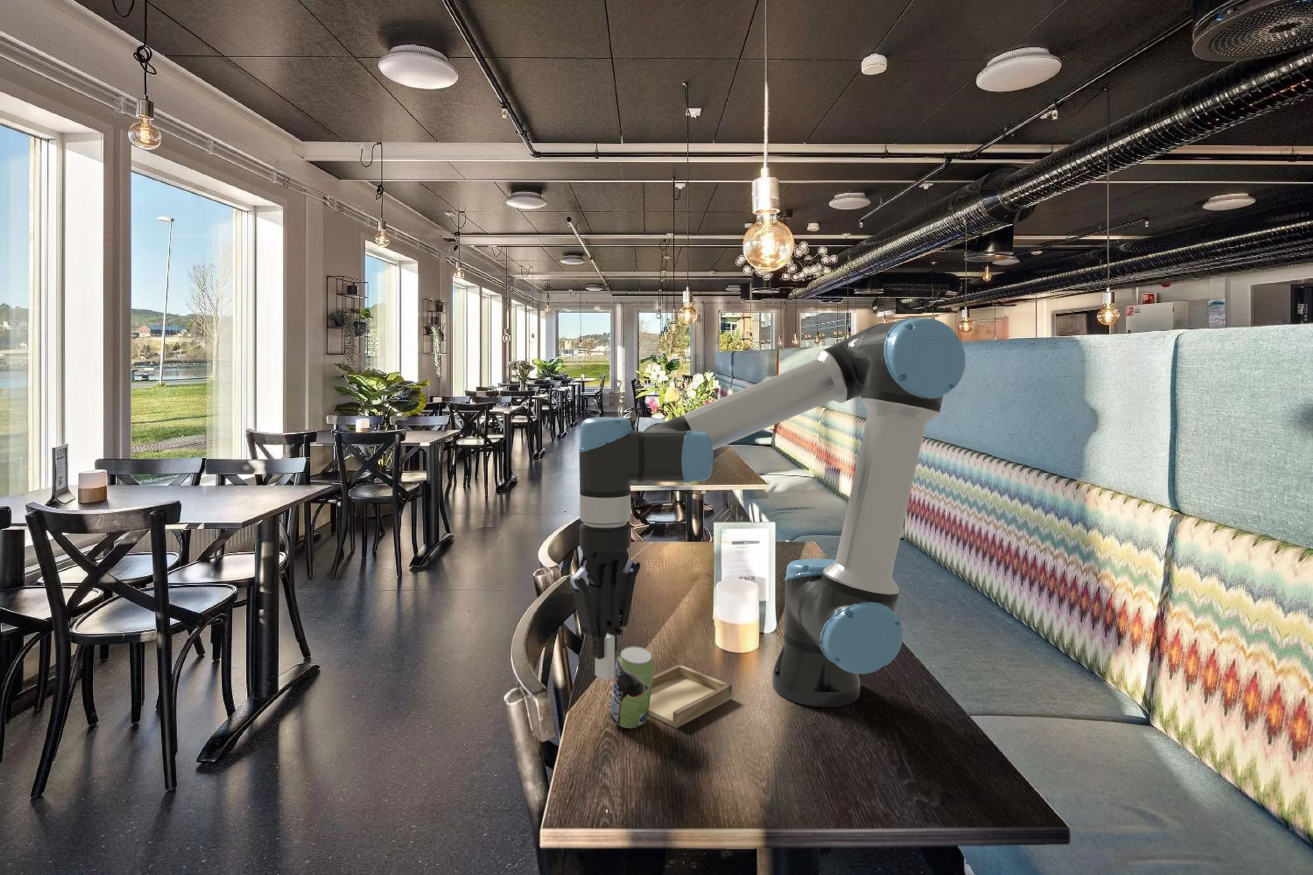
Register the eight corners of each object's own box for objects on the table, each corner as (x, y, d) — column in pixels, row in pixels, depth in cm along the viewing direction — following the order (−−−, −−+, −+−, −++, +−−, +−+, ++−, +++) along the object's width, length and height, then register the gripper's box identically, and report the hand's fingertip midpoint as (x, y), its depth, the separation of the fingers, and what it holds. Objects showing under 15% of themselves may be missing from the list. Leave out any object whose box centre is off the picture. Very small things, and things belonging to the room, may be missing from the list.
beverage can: (627, 708, 113) (628, 638, 112) (662, 723, 109) (663, 650, 108) (601, 723, 109) (601, 649, 108) (636, 739, 104) (637, 662, 103)
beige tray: (731, 698, 118) (731, 685, 117) (676, 728, 107) (677, 713, 107) (679, 676, 126) (679, 664, 126) (623, 702, 116) (624, 688, 115)
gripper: (619, 512, 109) (618, 656, 111) (554, 524, 99) (554, 682, 101) (653, 519, 103) (652, 670, 106) (588, 533, 94) (588, 698, 96)
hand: (604, 676), depth 103 cm, fingers closed
